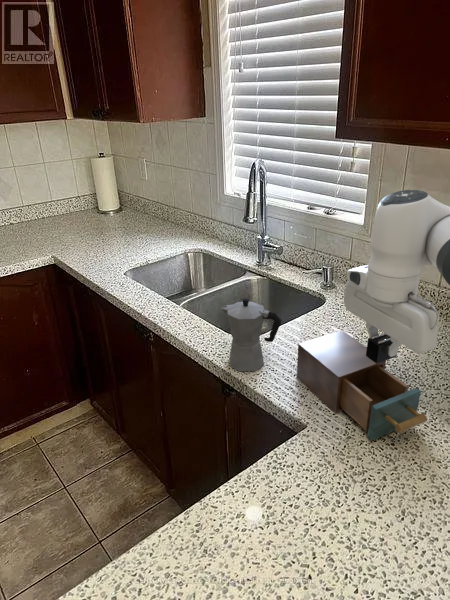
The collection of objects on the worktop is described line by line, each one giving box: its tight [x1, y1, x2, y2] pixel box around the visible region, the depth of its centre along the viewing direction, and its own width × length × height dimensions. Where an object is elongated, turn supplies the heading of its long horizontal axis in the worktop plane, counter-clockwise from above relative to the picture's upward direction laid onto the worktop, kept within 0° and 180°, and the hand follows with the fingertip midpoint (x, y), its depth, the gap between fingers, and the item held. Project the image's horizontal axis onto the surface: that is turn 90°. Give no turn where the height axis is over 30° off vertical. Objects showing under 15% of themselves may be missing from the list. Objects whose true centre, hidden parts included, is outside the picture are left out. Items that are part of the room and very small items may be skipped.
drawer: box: [339, 366, 428, 441], centre depth 91 cm, size 18×11×8 cm, turn 26°
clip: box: [366, 332, 398, 364], centre depth 85 cm, size 5×3×4 cm, turn 116°
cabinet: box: [296, 330, 387, 415], centre depth 101 cm, size 15×13×10 cm
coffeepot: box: [219, 297, 282, 373], centre depth 109 cm, size 15×9×18 cm, turn 67°
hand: (382, 348), depth 86 cm, fingers closed on clip, 3 cm apart
